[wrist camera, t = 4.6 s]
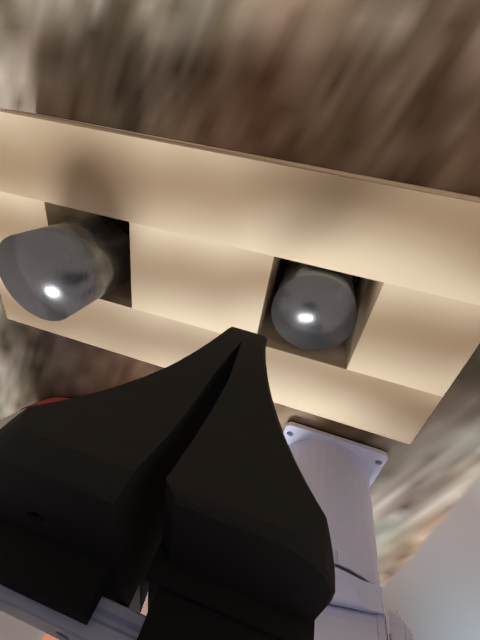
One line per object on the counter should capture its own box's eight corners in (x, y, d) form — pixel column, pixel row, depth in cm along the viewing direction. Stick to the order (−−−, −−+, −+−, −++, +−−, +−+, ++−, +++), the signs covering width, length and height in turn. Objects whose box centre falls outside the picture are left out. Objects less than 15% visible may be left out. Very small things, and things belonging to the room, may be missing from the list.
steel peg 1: (136, 292, 18) (80, 331, 14) (76, 276, 18) (8, 308, 15) (134, 223, 16) (69, 246, 12) (67, 208, 16) (-15, 224, 13)
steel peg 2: (339, 317, 19) (341, 359, 15) (277, 301, 20) (264, 337, 16) (362, 257, 17) (370, 287, 13) (292, 241, 18) (281, 265, 14)
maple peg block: (394, 385, 21) (410, 444, 16) (63, 290, 25) (7, 318, 20) (497, 200, 15) (564, 219, 10) (35, 113, 18) (-54, 101, 14)
